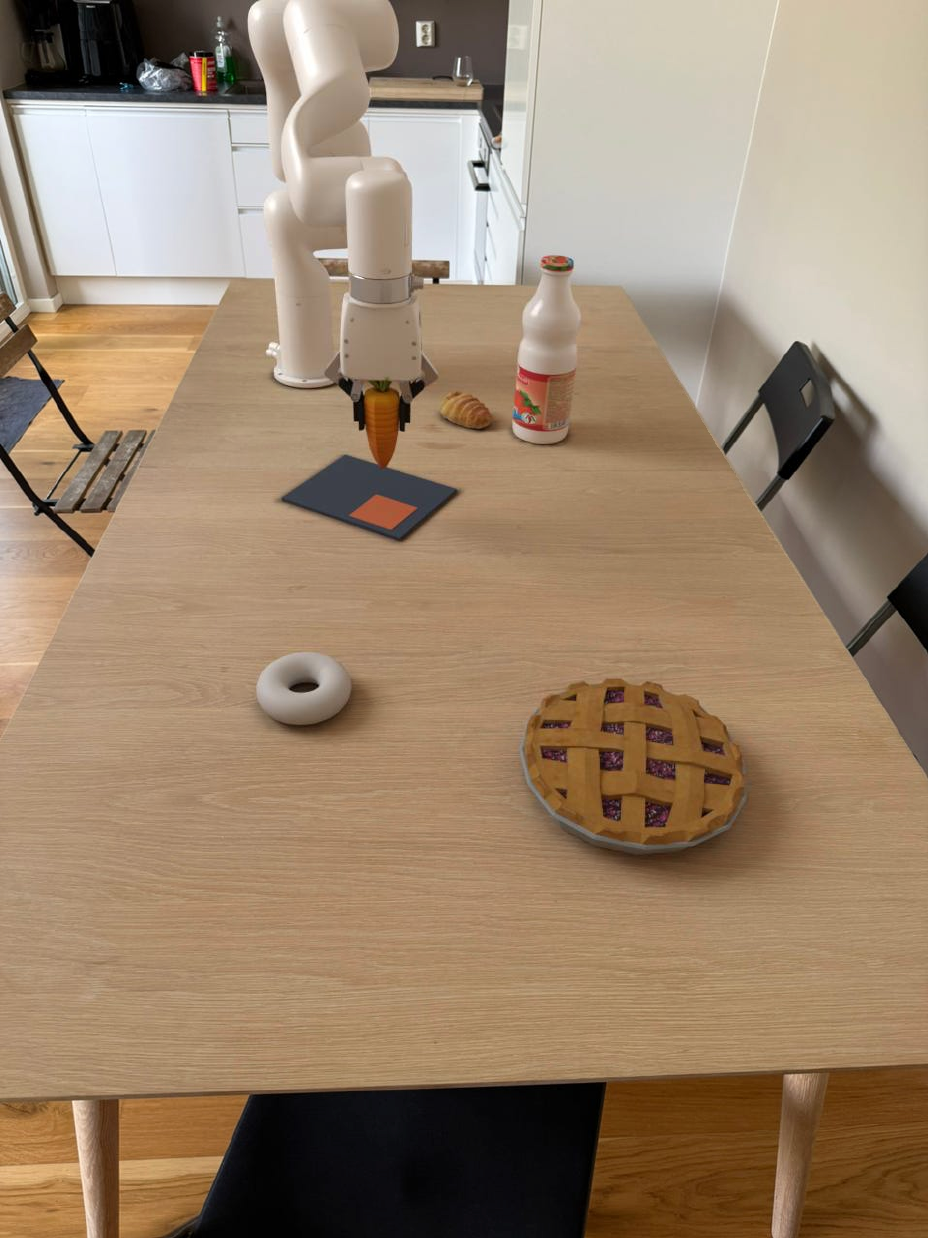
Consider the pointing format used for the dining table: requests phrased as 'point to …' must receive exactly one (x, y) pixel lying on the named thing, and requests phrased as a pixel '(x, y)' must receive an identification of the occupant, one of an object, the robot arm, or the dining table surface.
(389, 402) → the carrot
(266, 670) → the donut
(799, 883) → the dining table surface
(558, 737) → the pie
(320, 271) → the robot arm
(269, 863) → the dining table surface
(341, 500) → the mat
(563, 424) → the fruit juice
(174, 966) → the dining table surface
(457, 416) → the pastry
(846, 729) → the dining table surface
